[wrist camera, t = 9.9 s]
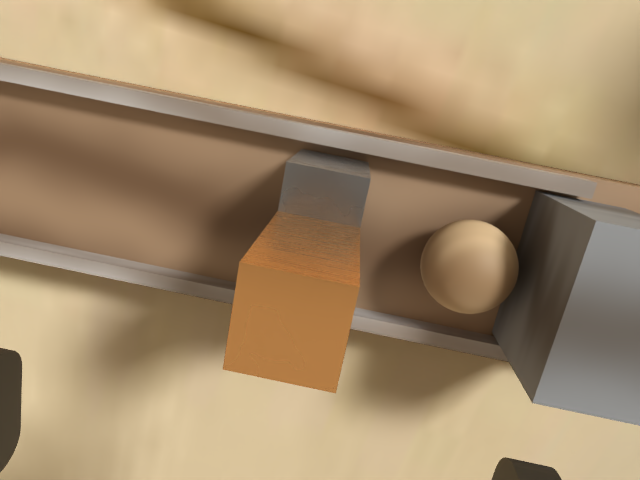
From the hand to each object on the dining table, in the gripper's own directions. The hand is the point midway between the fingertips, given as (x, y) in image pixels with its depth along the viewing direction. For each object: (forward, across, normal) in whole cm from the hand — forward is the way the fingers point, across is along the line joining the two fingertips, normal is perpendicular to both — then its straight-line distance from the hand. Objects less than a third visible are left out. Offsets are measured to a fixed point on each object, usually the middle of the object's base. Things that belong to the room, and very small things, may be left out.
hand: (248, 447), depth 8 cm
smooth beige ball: (+14, -7, 0) cm, 15 cm away
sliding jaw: (+16, 0, 0) cm, 16 cm away
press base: (+18, +2, 0) cm, 18 cm away
